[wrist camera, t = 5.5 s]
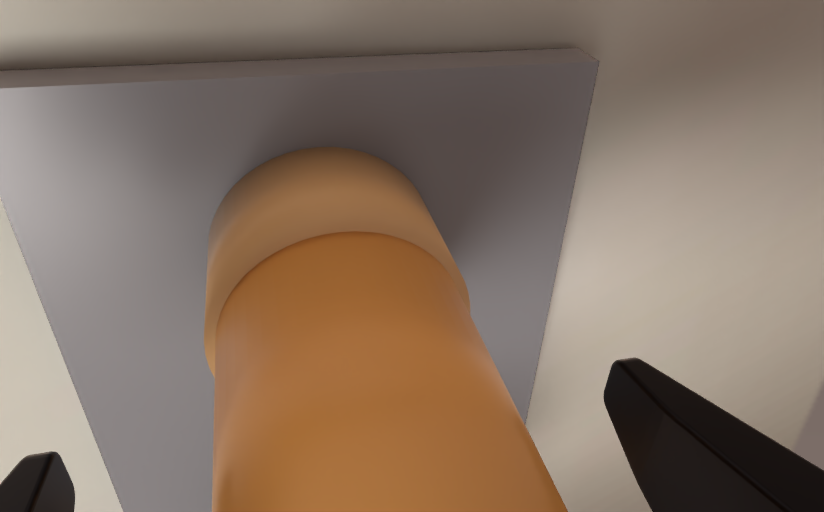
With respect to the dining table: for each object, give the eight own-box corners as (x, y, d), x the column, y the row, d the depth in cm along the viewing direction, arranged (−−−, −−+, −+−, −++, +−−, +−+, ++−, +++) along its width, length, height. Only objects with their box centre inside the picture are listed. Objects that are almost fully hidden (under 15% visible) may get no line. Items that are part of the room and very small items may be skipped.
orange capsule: (452, 400, 13) (577, 718, 9) (233, 436, 12) (237, 818, 8) (470, 218, 11) (662, 530, 6) (195, 246, 10) (166, 644, 5)
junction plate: (498, 485, 23) (602, 740, 17) (154, 554, 20) (121, 887, 14) (578, 47, 14) (876, 237, 7) (-23, 71, 11) (-349, 392, 5)
